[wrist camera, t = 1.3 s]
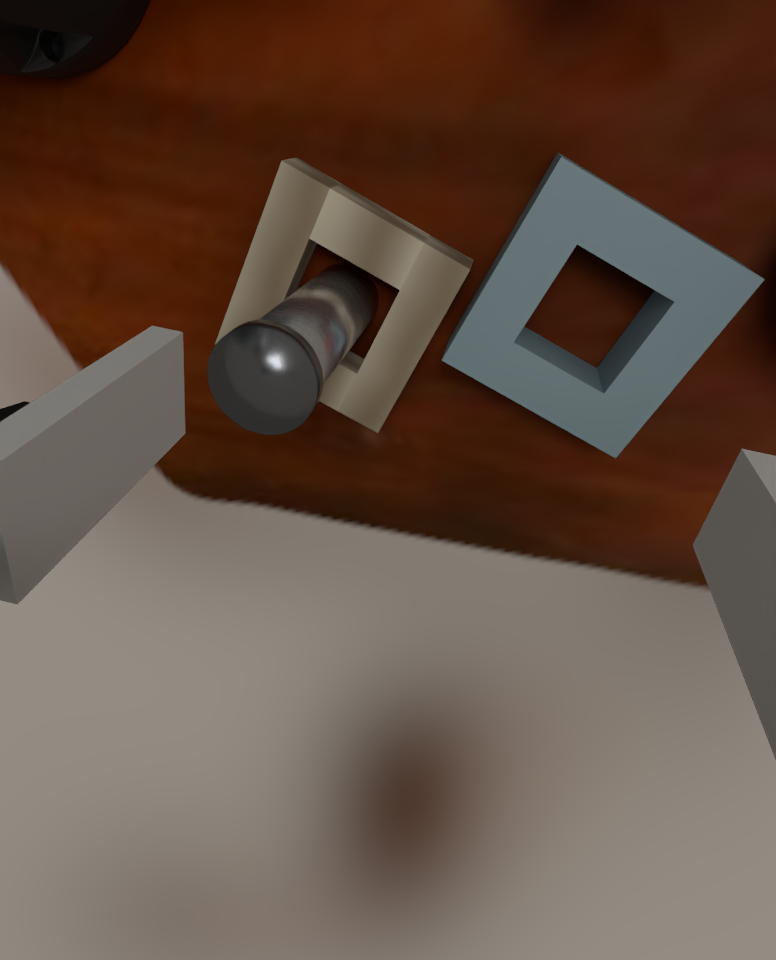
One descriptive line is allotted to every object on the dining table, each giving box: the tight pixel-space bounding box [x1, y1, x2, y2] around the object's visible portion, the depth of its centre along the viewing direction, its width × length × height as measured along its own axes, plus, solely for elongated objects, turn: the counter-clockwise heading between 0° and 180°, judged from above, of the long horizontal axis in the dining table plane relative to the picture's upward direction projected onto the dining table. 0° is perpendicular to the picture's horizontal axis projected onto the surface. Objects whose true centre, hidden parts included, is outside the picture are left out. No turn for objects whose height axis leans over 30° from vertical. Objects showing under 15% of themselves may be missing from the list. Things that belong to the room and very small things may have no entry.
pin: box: [207, 263, 378, 435], centre depth 32 cm, size 5×5×14 cm
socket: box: [442, 152, 765, 458], centre depth 34 cm, size 11×11×4 cm
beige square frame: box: [215, 158, 474, 433], centre depth 37 cm, size 11×11×2 cm
